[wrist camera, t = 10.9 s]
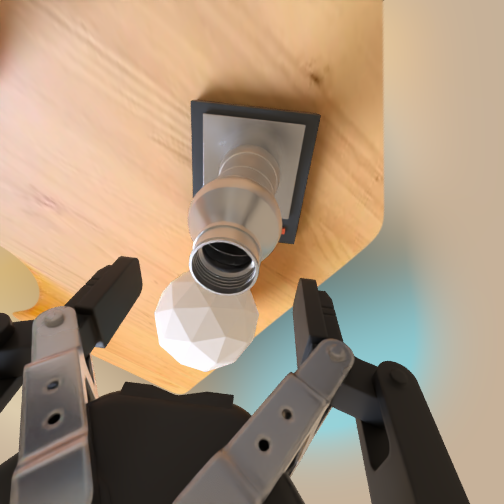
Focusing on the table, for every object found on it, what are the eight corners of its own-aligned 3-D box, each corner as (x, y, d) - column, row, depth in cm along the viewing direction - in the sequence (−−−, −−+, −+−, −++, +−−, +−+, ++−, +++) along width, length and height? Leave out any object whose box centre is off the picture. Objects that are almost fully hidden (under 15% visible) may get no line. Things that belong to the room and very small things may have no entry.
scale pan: (204, 112, 29) (202, 113, 28) (305, 124, 28) (305, 124, 28) (204, 207, 34) (203, 209, 34) (288, 217, 34) (288, 219, 34)
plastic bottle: (262, 206, 33) (250, 330, 16) (213, 179, 32) (143, 283, 15) (291, 160, 30) (315, 254, 13) (238, 128, 28) (186, 184, 11)
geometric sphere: (200, 268, 49) (120, 293, 38) (260, 246, 40) (178, 271, 28) (224, 341, 49) (152, 388, 37) (291, 336, 39) (221, 399, 28)
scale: (196, 99, 30) (189, 100, 28) (317, 113, 30) (321, 115, 28) (198, 224, 39) (192, 234, 36) (292, 235, 39) (294, 246, 36)
